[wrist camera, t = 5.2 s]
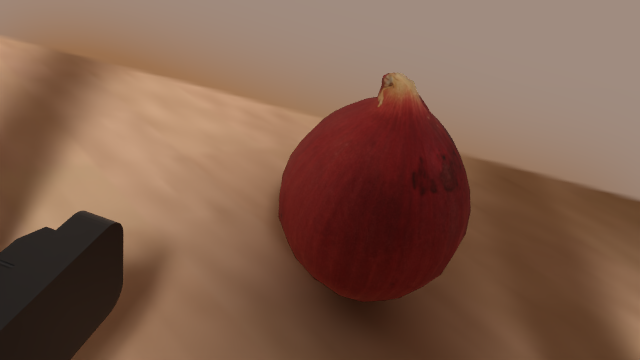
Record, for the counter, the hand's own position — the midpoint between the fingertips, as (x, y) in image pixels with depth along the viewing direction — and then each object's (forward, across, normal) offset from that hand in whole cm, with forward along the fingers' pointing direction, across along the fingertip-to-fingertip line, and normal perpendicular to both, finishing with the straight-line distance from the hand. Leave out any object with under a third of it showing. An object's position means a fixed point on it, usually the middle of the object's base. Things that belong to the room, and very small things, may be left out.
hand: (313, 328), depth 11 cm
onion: (+8, 0, +6) cm, 10 cm away
